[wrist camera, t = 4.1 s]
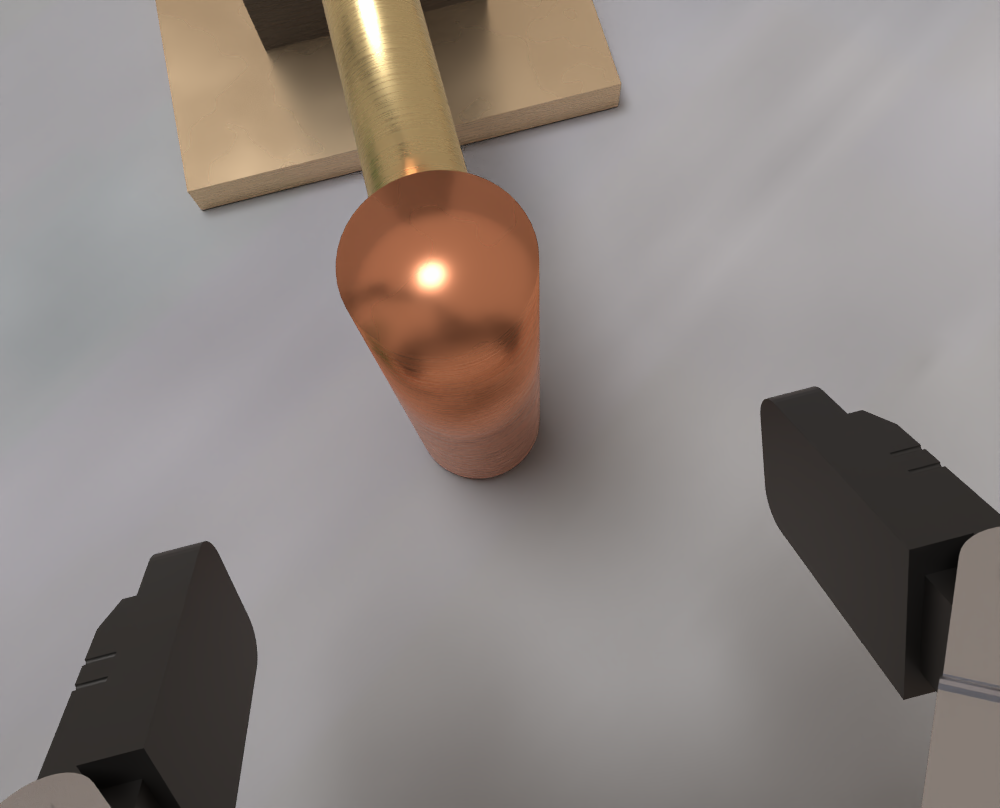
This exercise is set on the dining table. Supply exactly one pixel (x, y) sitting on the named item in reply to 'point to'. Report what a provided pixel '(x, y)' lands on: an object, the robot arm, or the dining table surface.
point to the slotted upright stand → (319, 93)
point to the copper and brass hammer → (434, 252)
